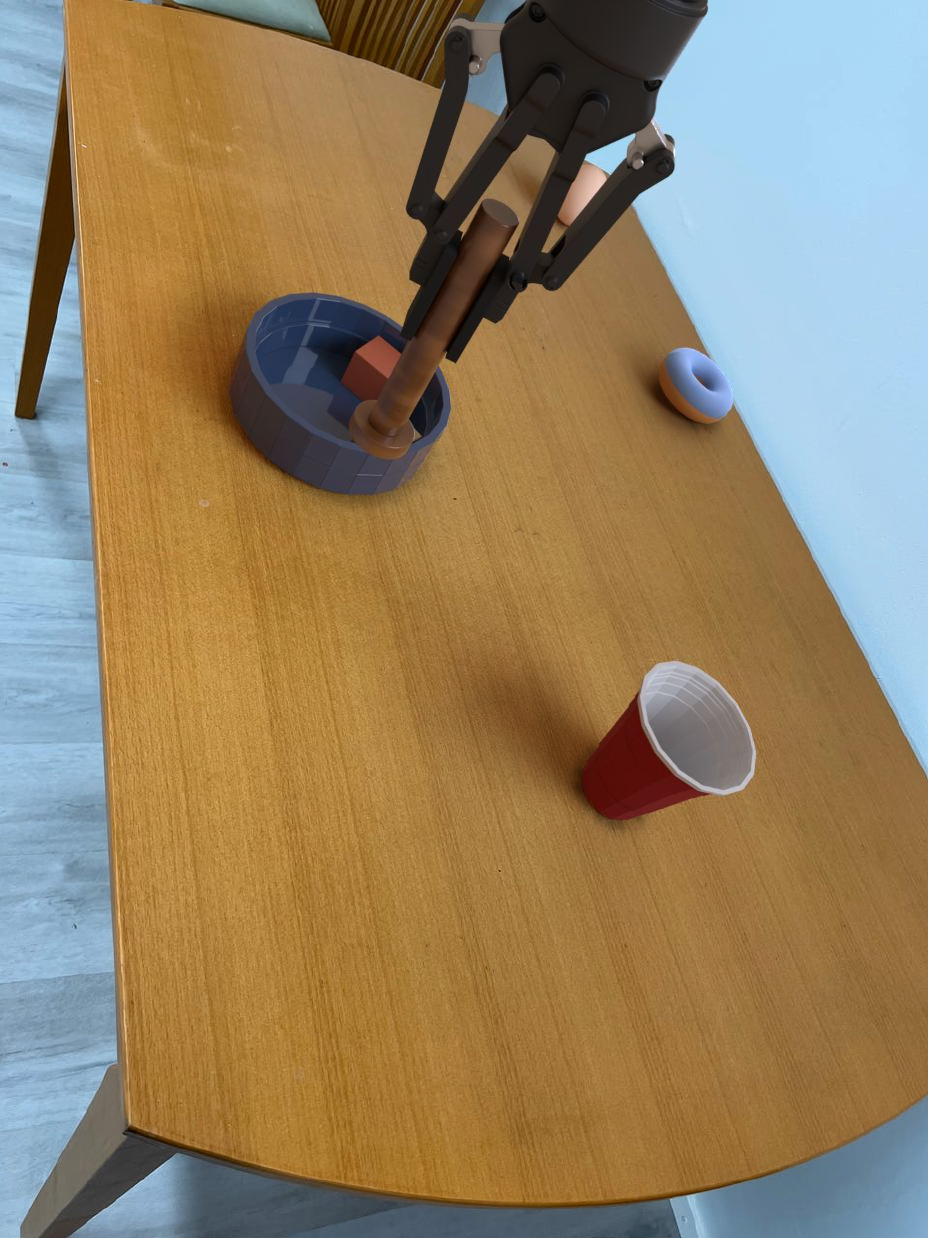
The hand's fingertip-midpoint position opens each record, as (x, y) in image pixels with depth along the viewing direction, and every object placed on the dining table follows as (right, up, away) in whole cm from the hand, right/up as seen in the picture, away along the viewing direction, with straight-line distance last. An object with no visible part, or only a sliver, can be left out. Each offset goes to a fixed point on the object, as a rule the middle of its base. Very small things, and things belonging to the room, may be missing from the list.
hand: (431, 336), depth 61 cm
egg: (+15, +34, +66) cm, 76 cm away
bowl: (-10, +1, +27) cm, 29 cm away
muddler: (-4, -5, +6) cm, 9 cm away
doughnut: (+28, +9, +56) cm, 63 cm away
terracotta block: (-7, +4, +31) cm, 32 cm away
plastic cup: (+14, -32, +19) cm, 39 cm away
